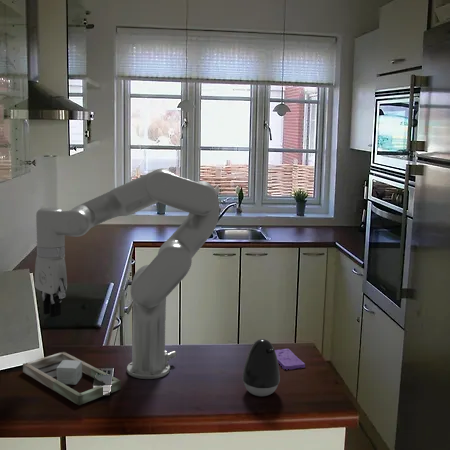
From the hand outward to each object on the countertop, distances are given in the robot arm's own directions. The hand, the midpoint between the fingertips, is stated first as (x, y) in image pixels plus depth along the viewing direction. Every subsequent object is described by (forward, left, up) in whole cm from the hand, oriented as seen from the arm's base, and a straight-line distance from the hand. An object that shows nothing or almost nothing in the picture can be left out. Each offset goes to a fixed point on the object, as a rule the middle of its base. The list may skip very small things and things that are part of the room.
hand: (52, 314), depth 165 cm
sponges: (-56, +43, -18) cm, 73 cm away
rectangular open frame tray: (0, +9, -17) cm, 19 cm away
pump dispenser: (-33, +51, -17) cm, 63 cm away
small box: (0, +8, -17) cm, 19 cm away
